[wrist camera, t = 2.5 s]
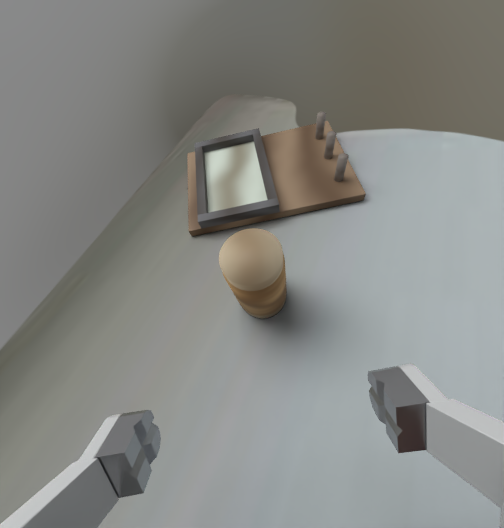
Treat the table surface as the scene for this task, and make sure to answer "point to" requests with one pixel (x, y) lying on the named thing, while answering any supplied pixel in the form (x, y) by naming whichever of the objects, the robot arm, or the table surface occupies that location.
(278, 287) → the tan domed cylinder
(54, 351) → the table surface
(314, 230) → the table surface
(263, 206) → the wooden key rack
